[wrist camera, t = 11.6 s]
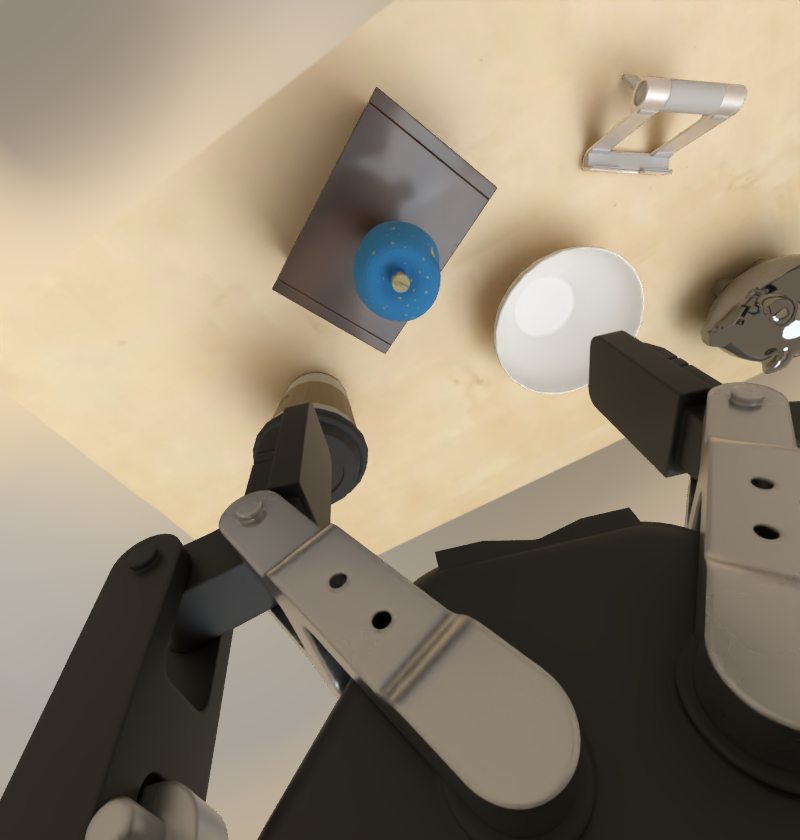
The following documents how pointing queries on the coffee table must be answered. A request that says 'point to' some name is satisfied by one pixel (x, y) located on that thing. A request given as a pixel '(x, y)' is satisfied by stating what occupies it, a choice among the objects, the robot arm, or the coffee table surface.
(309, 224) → the wooden drawer cabinet
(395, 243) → the ornament
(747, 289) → the piggy bank
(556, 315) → the bowl
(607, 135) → the tablet stand
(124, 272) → the coffee table surface
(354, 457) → the coffee cup
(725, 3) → the coffee table surface
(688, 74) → the coffee table surface
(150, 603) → the robot arm
